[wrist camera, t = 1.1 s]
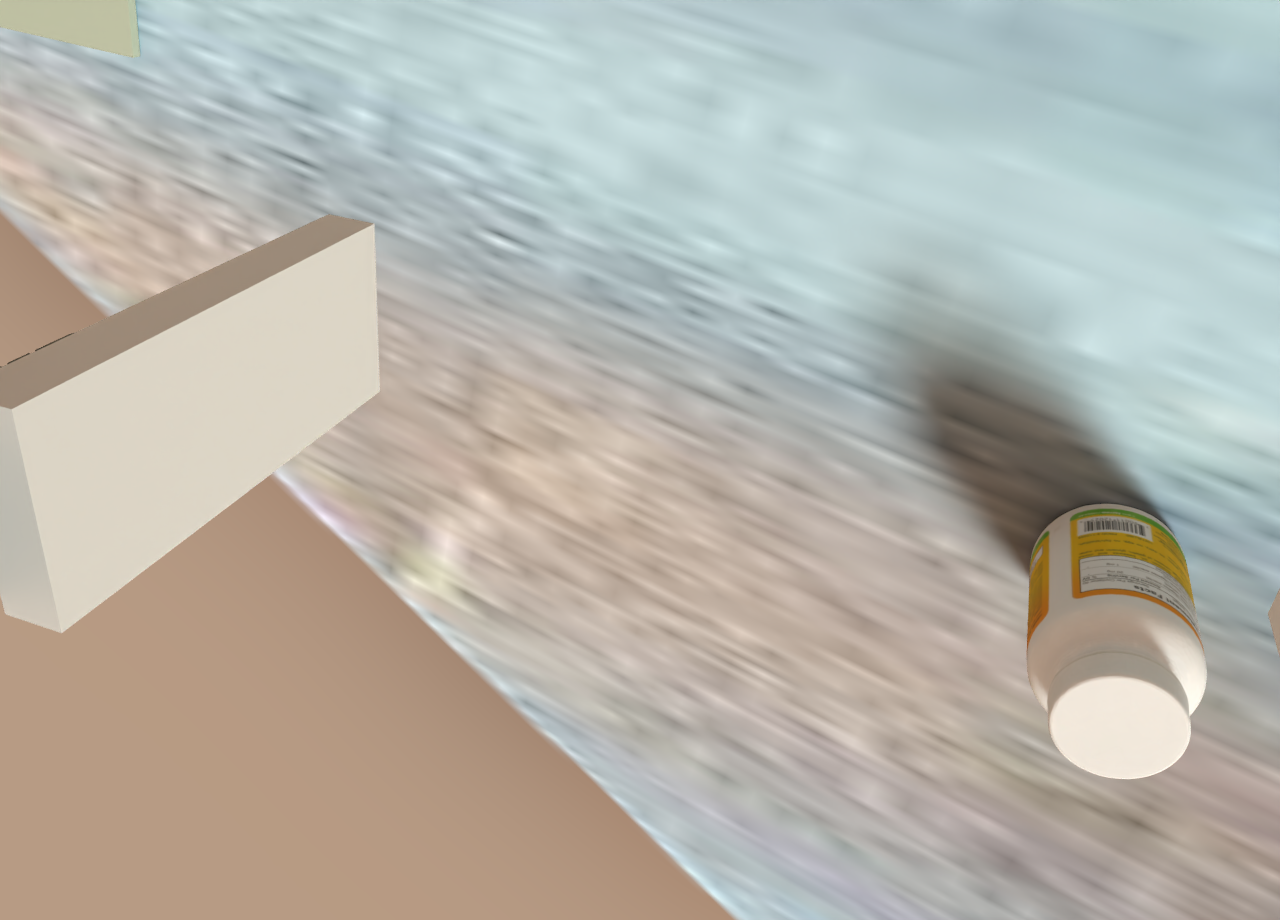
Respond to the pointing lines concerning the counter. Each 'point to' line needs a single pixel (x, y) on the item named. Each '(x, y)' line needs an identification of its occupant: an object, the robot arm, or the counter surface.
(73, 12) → the mat
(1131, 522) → the supplement bottle
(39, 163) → the counter surface
